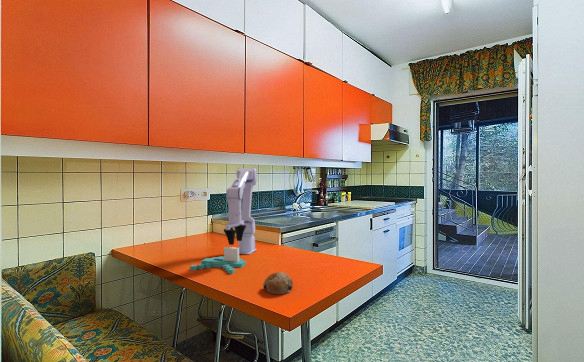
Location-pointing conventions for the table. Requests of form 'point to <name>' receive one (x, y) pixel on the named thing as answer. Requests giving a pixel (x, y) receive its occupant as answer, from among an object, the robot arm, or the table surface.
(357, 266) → the table surface
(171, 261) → the table surface
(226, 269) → the alien figure
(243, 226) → the robot arm
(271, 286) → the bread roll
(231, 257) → the tile
